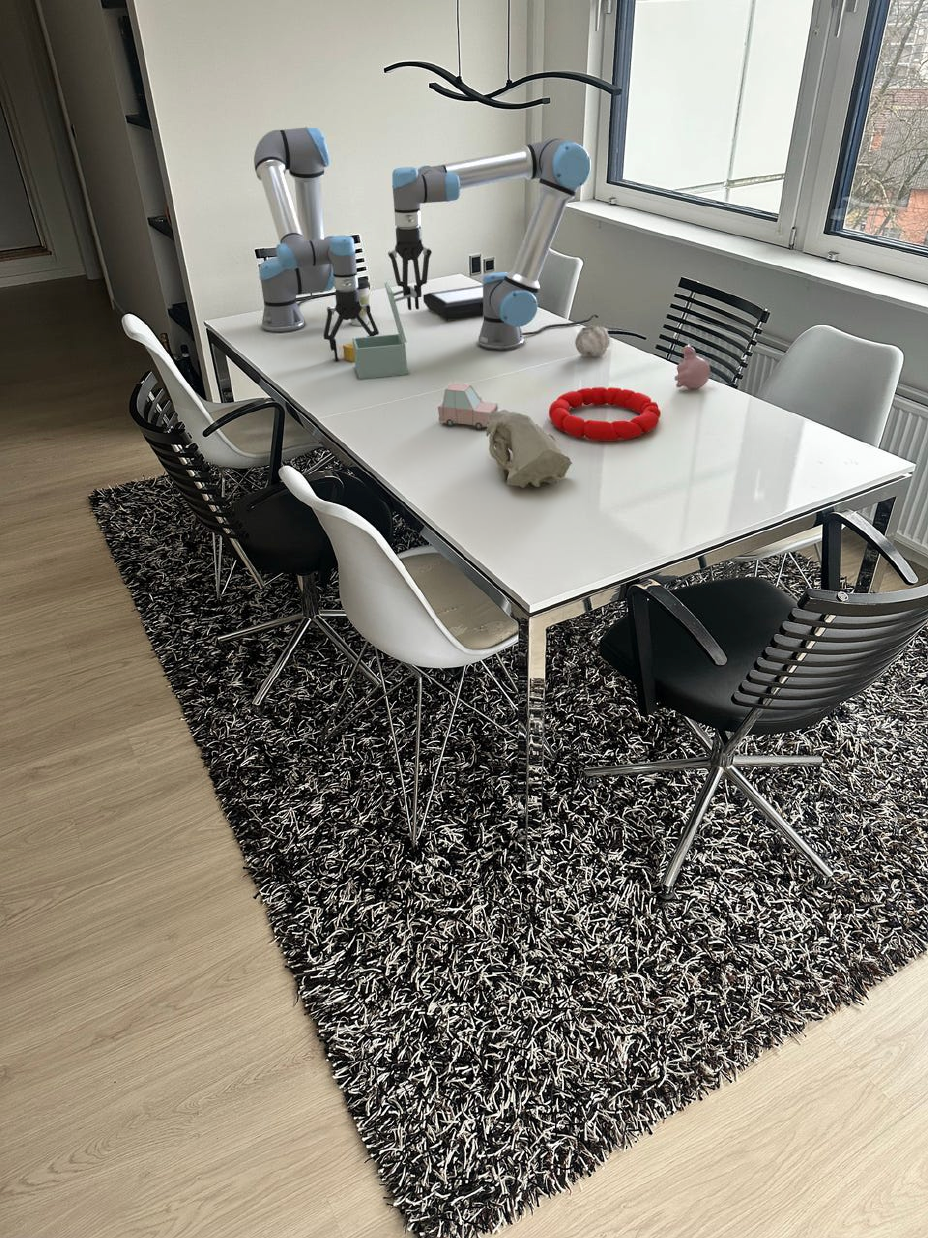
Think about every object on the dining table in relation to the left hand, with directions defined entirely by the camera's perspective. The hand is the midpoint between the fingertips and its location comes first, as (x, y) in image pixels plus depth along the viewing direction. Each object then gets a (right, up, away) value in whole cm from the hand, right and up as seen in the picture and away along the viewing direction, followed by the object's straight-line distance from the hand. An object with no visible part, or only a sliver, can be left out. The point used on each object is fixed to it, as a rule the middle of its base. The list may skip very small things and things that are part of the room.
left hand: (353, 358), depth 294 cm
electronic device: (+40, +31, +43) cm, 66 cm away
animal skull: (+50, -50, -74) cm, 102 cm away
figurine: (+103, -18, -31) cm, 109 cm away
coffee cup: (-2, +22, +33) cm, 40 cm away
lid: (+15, +8, -20) cm, 26 cm away
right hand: (+21, +10, -19) cm, 30 cm away
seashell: (+79, -1, -5) cm, 79 cm away
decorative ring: (+75, -32, -50) cm, 96 cm away
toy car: (+38, -32, -48) cm, 69 cm away
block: (0, 0, 0) cm, 0 cm away
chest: (+10, -7, -11) cm, 16 cm away
